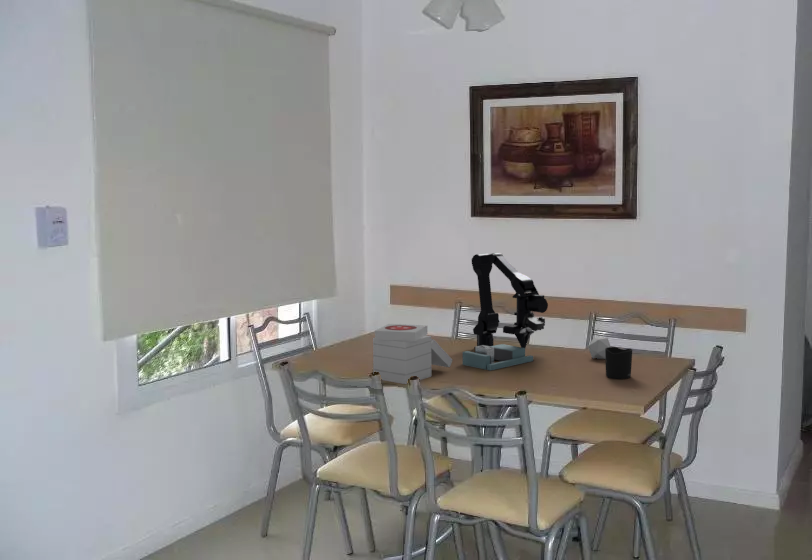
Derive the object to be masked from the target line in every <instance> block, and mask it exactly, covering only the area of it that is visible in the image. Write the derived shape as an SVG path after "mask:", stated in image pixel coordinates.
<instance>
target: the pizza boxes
mask: <svg viewBox="0 0 812 560" xmlns="http://www.w3.org/2000/svg"><path fill="white" fill-rule="evenodd" d="M372 347H373V348H372V350H373V351H372V352H373V353H372V354H373V355H372V358H373V361H372V362H373V363H372V365H373V373H374V372H375V371H376V372H379V373H380V375H381V378H382V380H381V381H384V382H385V381H386V382H390V383H391V382H392V383H395V384H403V385H407V381H408V379H409V378H410V377H411V376H417V377H419V378H420V380H419V381H422V380H426V379H428V378H431V377H432V365H433V366H439V367H444V368H445V367H446V368H450V367H451V366H452V363H453V360H454V359H452V357H451V356H450V355H449V354H448V353H447V352H446V351H445V350H444V349H443V348H442V346H440V344H439V343H438V342H437V341H436V340H435V339H433V338H432V336H431V335H428V325H421V324H401V323H399V324H398V323H388V324H386V325H384V326H381V327H380V328H377V329H375V330H374V337H373V338H372Z"/></svg>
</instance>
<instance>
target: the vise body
mask: <svg viewBox="0 0 812 560" xmlns="http://www.w3.org/2000/svg"><path fill="white" fill-rule="evenodd" d="M529 362H534V356H533V355H525V357H520V358H515V359H511V360H506V361H498V362H494V363H492V364H491V356H490V355H485V354H480V353H475V352H474V351H468V350H465V351H462V366H467V367H472V368H477V369H481V370H487V371H495V370H499V369H500V370H501V369H504V368H508V367H513V366H517V365H522V364H526V363H529Z"/></svg>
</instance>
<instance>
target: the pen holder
mask: <svg viewBox="0 0 812 560" xmlns="http://www.w3.org/2000/svg"><path fill="white" fill-rule="evenodd" d="M604 360H605V376H606V377H607V378H609V379H613V380H627V379H630V378H631V375H632V362H633V361H632V360H633V348H625V349H624V348H623V349H622V348H619V347H616V346H611V347H608V348H606V349H605V359H604Z"/></svg>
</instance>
